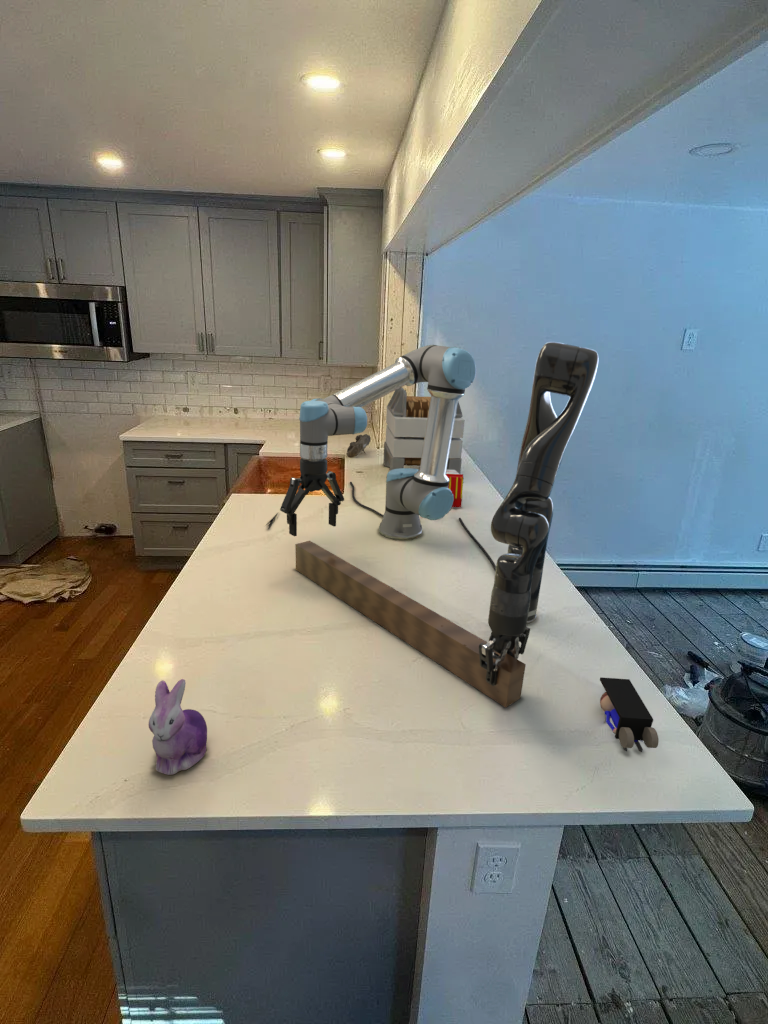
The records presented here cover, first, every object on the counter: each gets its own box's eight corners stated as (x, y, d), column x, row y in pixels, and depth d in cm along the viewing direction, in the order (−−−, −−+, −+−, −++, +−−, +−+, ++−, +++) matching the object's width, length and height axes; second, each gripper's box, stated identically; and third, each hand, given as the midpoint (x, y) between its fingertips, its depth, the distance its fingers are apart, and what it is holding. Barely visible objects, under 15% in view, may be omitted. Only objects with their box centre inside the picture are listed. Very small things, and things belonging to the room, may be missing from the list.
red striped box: (455, 465, 253) (467, 475, 224) (454, 495, 256) (465, 508, 227) (428, 465, 253) (437, 474, 224) (427, 494, 256) (435, 507, 226)
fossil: (346, 440, 316) (367, 425, 311) (357, 453, 319) (378, 438, 314) (340, 453, 296) (362, 438, 291) (351, 468, 299) (374, 452, 294)
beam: (295, 569, 169) (295, 544, 167) (309, 565, 173) (309, 540, 170) (505, 708, 114) (510, 673, 111) (520, 698, 117) (525, 664, 115)
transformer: (382, 463, 289) (386, 382, 275) (445, 464, 293) (451, 384, 279) (390, 482, 257) (394, 392, 243) (460, 483, 261) (468, 394, 247)
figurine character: (654, 765, 103) (622, 703, 116) (665, 735, 100) (631, 675, 113) (618, 764, 103) (590, 702, 116) (628, 734, 99) (598, 674, 113)
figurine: (156, 786, 92) (147, 710, 87) (149, 745, 100) (140, 673, 95) (215, 767, 96) (210, 694, 91) (204, 729, 105) (198, 660, 100)
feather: (285, 507, 224) (287, 503, 224) (267, 531, 198) (270, 526, 197) (281, 504, 224) (284, 500, 223) (263, 528, 197) (265, 524, 197)
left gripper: (281, 467, 146) (282, 543, 153) (357, 455, 162) (355, 525, 169) (266, 461, 151) (268, 534, 158) (341, 450, 167) (340, 517, 174)
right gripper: (501, 625, 105) (491, 701, 110) (546, 603, 113) (535, 674, 119) (470, 609, 110) (463, 682, 116) (516, 588, 119) (506, 657, 124)
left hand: (313, 529), depth 164 cm, fingers open, 13 cm apart
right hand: (499, 678), depth 117 cm, fingers closed on beam, 5 cm apart
